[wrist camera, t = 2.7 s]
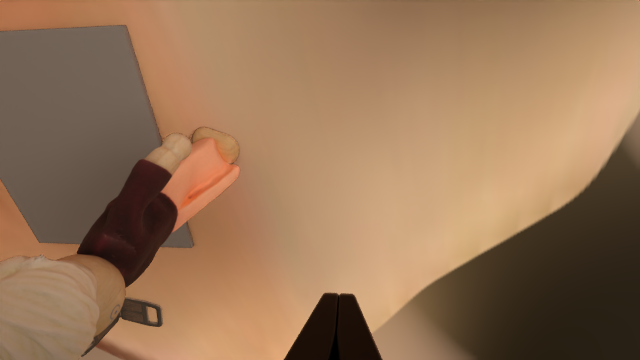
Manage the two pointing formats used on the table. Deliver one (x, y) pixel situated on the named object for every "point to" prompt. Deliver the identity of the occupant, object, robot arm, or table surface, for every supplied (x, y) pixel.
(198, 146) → the grandmother figurine
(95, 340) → the strap clip
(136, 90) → the mat
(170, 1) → the table surface
